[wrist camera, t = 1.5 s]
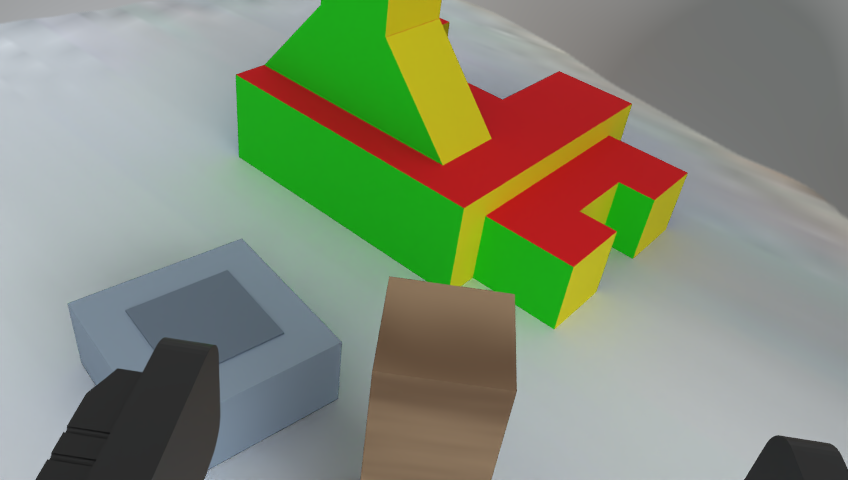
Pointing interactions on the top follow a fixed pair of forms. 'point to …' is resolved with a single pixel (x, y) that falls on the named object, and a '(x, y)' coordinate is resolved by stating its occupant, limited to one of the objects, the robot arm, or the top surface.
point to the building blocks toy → (452, 156)
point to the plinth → (219, 338)
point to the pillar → (440, 383)
